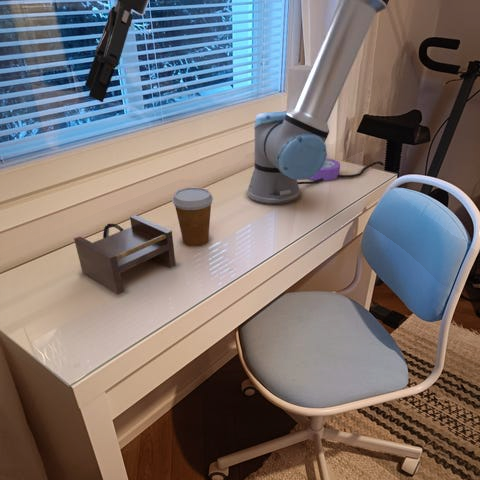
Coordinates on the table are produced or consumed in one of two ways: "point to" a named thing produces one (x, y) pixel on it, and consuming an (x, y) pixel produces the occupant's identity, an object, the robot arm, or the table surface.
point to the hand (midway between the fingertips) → (93, 93)
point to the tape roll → (328, 170)
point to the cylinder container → (296, 84)
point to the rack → (125, 252)
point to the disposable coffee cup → (193, 214)
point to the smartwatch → (106, 229)
